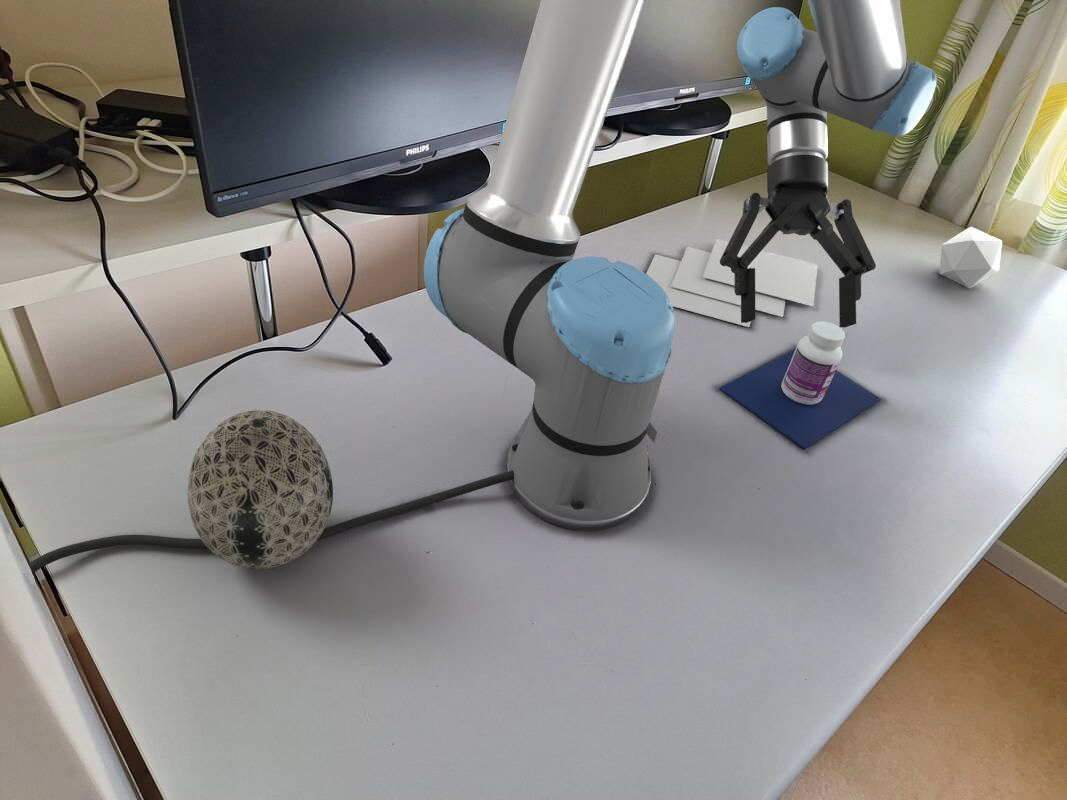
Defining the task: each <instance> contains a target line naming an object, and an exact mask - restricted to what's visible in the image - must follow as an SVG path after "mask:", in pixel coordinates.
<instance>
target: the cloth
mask: <svg viewBox="0 0 1067 800" xmlns="http://www.w3.org/2000/svg"><path fill="white" fill-rule="evenodd" d="M795 350H796V347H795V348H793V349H791V350H789V351H787V352H786V353H783V354H782V355H779V356H777V357H776V358H774V359H772V360H770V361H768V362H766V363H764V364H763V365H761V366H760V365H759V366H758V367H756V368H755V369H752V370H751V371H748V372H746V373H745V374H743V375H741V376H739V377H737V378H735V379H733V380H731V381H729V382H727V383H725V384H723V385H722V386H719V389H718V390H720V391H721V392H722V393H724V394H725V395H726V396H728V397H729V398H731V399H732V400H733V401H735V402H736V403H738V404H739V405H740V406H741V407H743V408H744V409H746V410H747V411H749V412H750V413H752V414H753V415H754V416H756V417H758V418H759V419H760V420H761V421H763V422H765V423H766V424H767V425H768V426H770V427H771V428H773V429H774V430H775V431H776V432H778V433H779V434H781V435H782V436H784V437H785V438H786V439H788V440H790V441H791V442H792V443H794V444H795V445H797V446H798V447H799V448H801V449H802V450H806V449H808V448H809V447H810V446H812V445H814V444H815V443H817V442H818V441H820V440H822V439H824V438H825V437H826V436H827V435H829V434H831V433H832V432H833V431H835V430H837V429H838V428H840V427H841V426H843V425H844V424H846V423H847V422H849V421H851V420H852V419H854V418H855V417H857V416H858V415H860V414H861V413H864V411H866V410H868V409H869V408H871V407H873V406H874V405H875V404H877V403H878V402H881V400H882V398H881V397H879V396H877V395H876V394H875V393H872V391H870V390H868V389H866V388H865V387H863V386H862V385H860V384H859V383H858V382H857V383H856V381H854V380H852V379H850V378H849V377H848V376H846V375H844V374H842V373H841V372H840V371H838V370H836V371H835V374H834V376H833V378H832V380H831V382H830V384H829V386H828V388H827V390H826V392H825V394H824V396H823V398H822V400H821V401H820V402H818V403H816V404H812V405H806V404H801V403H798V402H795V401H793V400H792V399H790V398H789V397H787V396H786V395H785V393H784V392H783V390H782V387H781V385H782V382H783V379H784V377H785V374H786V372H787V369H788V367H789V365H790V362H791V360H792V357H793V355H794V352H795Z"/></svg>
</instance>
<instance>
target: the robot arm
mask: <svg viewBox="0 0 1067 800" xmlns="http://www.w3.org/2000/svg"><path fill="white" fill-rule="evenodd" d="M646 1H647V0H540V3H539V7H538V10H537V13H536V17H535V21H534V24H533V27H532V31H531V34H530V38H529V40H528V44H527V48H526V52H525V55H524V58H523V61H522V65H521V68H520V71H519V75H518V79H517V81H516V85H515V89H514V93H513V96H512V99H511V103H510V106H509V111H508V113H507V117H506V120H505V124H504V128H503V131H502V134H501V138H500V141H499V145H498V148H497V151H496V155H495V158H494V162H493V166H492V169H491V173H490V176H489V178H488V182H487V184H486V185H485V186H484V187H483V188H481V189H479V190H478V191H474V192H473V193H472V194H469V195H468V197H467V198H466V201H465V204H464V205H465V206H464V208H461V209H459V210H456V211H454V212H453V213H451V214H449V215H448V216H447V217H446V218H445V219H444V220H443V227H442V228H437V229H436V230H435V231H434V233H433V235H432V237H431V239H430V241H429V244H428V245H427V248H426V252H425V256H424V262H423V280H424V285H425V291H426V293H427V296H428V298H429V300H430V301H431V303H432V304H433V306H434V307H435V308H436V310H437V311H438V312H439V313H441V315H443V316H444V317H446V318H447V319H448V321H450V323H451V324H452V326H454V327H455V328H456V329H457V330H459V331H461V332H462V333H465V334H468V335H469V336H470V337H472V338H473V339H474V340H476V341H477V342H479V343H480V344H482V346H485V347H486V348H488V349H489V350H490V351H492V352H493V353H495V354H496V355H497V356H498V357H500V358H501V359H503V360H504V361H506V362H508V363H509V364H510V365H512V366H514V367H515V368H516V369H518V370H519V371H520V372H521V373H523V374H524V375H525V376H527V377H528V378H530V379H531V380H532V381H533V382H534V384H535V387H534V394H533V402H532V407H531V410H530V411H529V413H528V414H527V416H526V419H525V420H524V421H523V423H522V424H521V426H520V428H519V430H518V431H517V433H516V435H514V438H513V440H512V442H511V444H510V447H509V450H508V453H507V460H506V466H505V467H506V468H505V470H506V471H505V472H502V473H499V474H494V475H491V476H488V477H485V478H481V479H478V480H475V481H472V482H468V483H465V484H462V485H459V486H456V487H453V488H449V489H446V490H443V491H440V492H437V493H433V494H430V495H427V496H423V497H421V498H417V499H414V500H411V501H407V502H404V503H401V504H397V505H394V506H390V507H387V508H383V509H381V510H378V511H377V510H376V511H373V512H370V513H366V514H363V515H360V516H356V517H353V518H351V519H350V518H349V519H347V520H345V521H342V522H339V523H335V524H334V525H331V526H327V527H325V529H324V530H323V532H322V534H321V535H320V537H319V538H318V539H317V541H316V542H318V541H322V540H324V539H328V538H330V537H333V536H337V535H339V534H342V533H344V532H347V531H350V530H353V529H356V528H359V527H362V526H365V525H370V524H373V523H377V522H378V521H383V520H386V519H389V518H392V517H396V516H398V515H402V514H405V513H408V512H409V513H410V512H412V511H415V510H418V509H422V508H425V507H428V506H431V505H434V504H437V503H440V502H444V501H447V500H450V499H453V498H457V497H459V496H462V495H465V494H469V493H472V492H476V491H479V490H482V489H485V488H488V487H492V486H495V485H498V484H501V483H504V482H507V483H508V485H509V488H510V490H511V492H512V494H513V495H514V497H515V498H516V500H518V501H519V503H520V504H521V505H522V506H523V507H524V508H525V509H527V510H528V511H529V512H530V513H532V514H533V515H535V516H536V517H538V518H540V519H542V520H543V521H546V522H547V523H550V524H553V525H556V526H559V527H562V528H567V529H571V530H579V531H597V530H604V529H609V528H610V529H611V528H613V527H616V526H618V525H622V524H623V523H625V522H627V521H628V520H630V519H631V518H633V517H634V516H635V515H636V514H638V513H639V511H640V510H641V508H642V507H643V506H644V504H645V502H646V500H647V498H648V494H649V490H650V487H651V483H652V482H651V481H652V465H651V460H650V456H649V454H648V446H649V445H648V437H649V439H650V441H652V444H655V442H656V438H657V435H658V431H657V430H656V428H654V426H653V425H652V424H651V418H652V415H653V411H654V408H655V405H656V402H657V398H658V395H659V391H660V388H661V384H662V380H663V377H664V373H665V370H666V368H667V366H668V364H669V362H670V359H671V356H672V349H673V348H672V347H673V338H674V334H675V327H676V317H675V314H674V311H675V310H674V307H673V306H672V303H671V301H670V299H669V297H668V296H667V294H666V293H665V291H664V290H663V289H662V287H661V286H660V285H659V284H658V283H657V282H656V281H655V280H653V279H652V278H651V277H650V276H648V275H647V274H646V272H644V271H643V270H641V269H639V268H638V267H635V266H634V265H631V264H628V263H626V262H624V261H620V260H616V261H615V262H612V261H610V260H609V259H608V258H607V257H604V256H603V257H602V256H583V257H578V258H574V257H575V253H576V250H577V247H578V245H579V242H580V239H581V235H582V234H581V232H580V229H579V227H578V225H577V223H576V221H575V219H574V215H573V212H574V209H575V207H576V204H577V200H578V198H579V195H580V193H581V188H582V187H583V183H584V180H585V178H586V174H587V172H588V170H589V165H590V163H591V160H592V157H593V154H594V151H595V148H596V146H597V142H598V140H599V137H600V134H601V132H602V128H603V127H604V126H603V125H604V123H605V119H606V116H607V114H608V112H609V109H610V105H611V102H612V99H613V96H614V94H615V91H616V88H617V86H618V82H619V79H620V76H621V73H622V70H623V69H624V68H623V67H624V65H625V61H626V59H627V56H628V53H629V50H630V47H631V45H632V42H633V39H634V36H635V33H636V31H637V27H638V24H639V21H640V18H641V17H642V13H643V10H644V7H645V4H646ZM806 1H807V4H808V7H809V10H810V13H811V17H812V20H813V23H814V27H815V29H816V31H814V30H811V29H808V28H806V27H804V25H803V24H802V21H801V19H799V18H798V17H797V16H796V15H795V13H794V12H792V10H789V9H788V8H785V7H781V6H774V7H769V8H766V9H763V10H760V11H759V12H756V13H755V14H754V15H753V16H751V18H749V20H748V21H747V22H746V23H745V24H744V25H743V27H742V29H741V30H740V32H739V34H738V37H737V43H736V53H737V57H738V59H739V61H740V64H741V65H742V66H741V67H742V69H743V70H742V71H743V72H744V73H745V75H747V77H748V78H749V79H750V81H751V82H752V84H753V86H755V88H756V89H757V91H758V92H759V94H760V96H761V97H762V98H763V100H764V101H765V105H766V149H767V150H766V161H767V165H768V167H767V171H766V174H767V175H766V188H767V189H766V190H767V191H766V193H767V197H762V196H761V195H760V193H758V192H753V193H752V194H751V195H750V196H748V197H746V199H745V200H744V201H743V207H742V215H741V217H740V219H739V221H738V223H737V225H736V227H735V229H734V231H733V233H732V235H731V237H730V239H729V241H728V242H729V243H728V245H727V247H726V249H725V251H724V253H723V255H722V257H721V259H720V264H721V265H722V266H727V267H730V268H731V271H732V273H734V290H735V294H736V295H737V296H741V323H747V322H750V321H751V322H752V321H754V320H756V310H755V268H749V269H748V266H749V265H750V264H751V262H752V261H753V260H754V259H755V258H756V257H757V255H758V254H759V253H760V252H761V251H762V250H763V251H764V249H765V248H766V247H767V245H768V244H769V243H770V241H772V239H773V238H774V237H775V236H776V235H777V233H778V232H781V233H782V235H792V234H794V235H798V236H807V235H809V236H810V237H811V238H812V239H813V240H814V241H816V242H818V244H819V246H821V248H822V249H823V250H824V251H825V253H826V254H827V255H828V257H829V258H830V259H831V260H832V261H833V262H834V264H835V265H836V266H837V268H838V269H839V271H840V272H841V273H842V274H843V276H842V277H840V278H838V306H839V307H838V309H839V310H838V313H839V314H838V317H839V318H838V319H839V327H840V328H848V327H851V326H854V325H857V301H859V300H861V297H862V276H863V275H864V274H866V273H869V272H871V271H874V270H875V269H876V267H877V264H876V261H875V260H874V258H873V256H872V253H871V252H870V249H869V247H868V245H867V243H866V240H865V239H864V237H863V235H862V233H861V230H860V228H859V227H858V224H857V222H856V220H855V218H854V216H853V207H852V202H851V200H850V199H847V198H846V199H843V200H842V201H840V202H830V201H829V199H828V188H829V162H828V161H827V159H828V156H829V148H828V147H829V146H828V144H829V141H828V114H830V115H833V116H836V117H839V118H841V119H844V120H846V121H849V122H852V123H854V124H857V125H859V126H862V127H864V128H868V129H869V130H871V131H872V132H874V131H878V132H880V133H883V134H887V135H890V136H894V137H903V136H905V135H907V134H909V133H910V132H911V131H912V130H913V129H914V128H915V127H916V126H917V124H918V123H919V122H920V120H921V119H922V117H923V116H924V115H925V113H926V111H927V109H928V107H929V106H930V104H931V101H932V99H933V96H934V94H935V90H936V87H937V80H938V79H937V74H936V72H935V71H934V70H933V69H932V68H930V67H928V66H925V65H923V64H921V63H920V62H919V61H917V60H916V61H910V60H909V58H908V53H907V46H906V38H905V30H904V24H903V16H902V7H901V0H806ZM763 210H765V212H766V214H767V215H768V216H769V218H770V219H771V220H770V221H769V222H768V223H767V224H766V226H765V227H764V228H763V230H762V231H761V232H760V234H759V235H757V237H756V238H755V239H754V240H753V242H752V243H751V244H750V245H749V246H748V247H749V248H748V249H747V250H746V251H745V252H744V253H743V255H742V256H741V257H738V256H737V255H738V253H739V251H740V249H741V247H742V245H743V246H744V243H745V241H746V239H747V237H748V235H749V233H750V231H751V229H752V227H753V225H754V224H755V221H756V219H757V217H758V215H759V214H761V213H762V212H763ZM828 214H829V215H830V219H831V220H833V221H834V225H835V227H836V230H837V232H838V234H839V235H838V234H837V232H835V230H834V225H833V224H832V223H831V222H830V220H829V219H828V217H827V216H828ZM751 322H750V323H751ZM133 545H134V546H152V547H161V548H172V549H185V550H210V549H209V548H208V547H207V546H206V545H205V544H204V543H203V541H202V540H201V538H185V537H183V538H182V537H171V536H162V535H151V534H120V535H112V536H106V537H101V538H100V537H99V538H95V539H90V540H85V541H81V542H76V543H73V544H69V545H65V546H62V547H59V548H57V549H53V550H51V551H48V552H46V553H44V554H42V555H40V556H38V557H36V558H35V559H33V560H31V561H30V562H28V563H27V564H28V565H29V566H30V568H31V570H32V573H33V574H35V573H36V572H37V571H39V570H41V569H42V568H44V567H46V566H48V565H50V564H51V563H54V562H56V561H59V560H61V559H64V558H68V557H71V556H74V555H78V554H82V553H86V552H91V551H96V550H100V549H101V550H102V549H105V548H112V547H118V546H133Z"/></svg>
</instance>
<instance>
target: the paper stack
mask: <svg viewBox="0 0 1067 800" xmlns="http://www.w3.org/2000/svg"><path fill="white" fill-rule="evenodd" d="M728 243H729V241H727V240H723V239H719V238H715V241H714V244H713V246H712V249H711V252H710V251H706V250H702V249H698V248H694V247H690V246H687V247H686V249H685V251H684V253H683V256H682V258H681V260H679V259H676V258H671V257H667V256H663V255H660V254H657V253H655V254H654V256H653V258H652V260H651V263H650V264H649V267H648V268H647V271H646V272H645V274H647V275H648V276H650V277H651V278H652V279H653V280H655V281H656V282H657V283H658V284H659V285H660V286H661V287H662V289H663V290H664V291H665V293H666V294H667V296H668V297H669V299H670V301H671V303H672V306H673V308H677V309H680V310H681V309H682V310H685V311H689V312H692V313H695V314H699V315H703V316H706V317H710V318H714V319H717V320H721V321H724V322H728V323H731V324H736V325H738V326H741V327H742V326H743V327H746V328H750V326H751V322H752V321H750V322H747V323H741V296H737V295H736V294H735V290H734V273H732V271H731V268H730V267H727V266H722V265H721V264H720V259H721V257H722V255H723V253H724V251H725V249H726V247H727V245H728ZM748 248H749V246H747V245H744V244H743V245H742V247H741V249H740V251H739V253H738V255H737V256H738V257H741V256H742V255H743V253H744V252H745V251H746V250H747V249H748ZM818 266H819V265H818V264H816V263H813V262H809V261H806V260H802V259H797V258H794V257H790V256H786V255H781V254H779V253H774V252H770V251H767V250H764V249H763V250H762V251H761V252H760V253H759V254H758V255H757V257H756V258H755V259H754V260H753V261H752V262H751V264H750V265H749V266H748V269H749V268H755V311H758V312H763V313H766V314H769V315H774V316H777V317H780V318H783V317H784V313H785V307H786V300H787V301H791V302H794V303H798V304H802V305H804V306H805V305H806V306H809V307H814V306H815V304H814V303H815V295H816V285H817V276H818V268H819V267H818Z"/></svg>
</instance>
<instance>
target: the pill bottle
mask: <svg viewBox="0 0 1067 800" xmlns="http://www.w3.org/2000/svg"><path fill="white" fill-rule="evenodd" d="M845 338H846V333H845V331H844V329H842V327H840V326H838V325H836V324H834V323H832V322H829V321H815V322H814V323H812V324H811V326H810V328H809V330H808V334H807V335H804V336H803V337H801V339H799V341H798V343H797V345H796V347H795V348H796V350H795V352H794V355H793V357H792V360H791V362H790V365H789V367H788V369H787V372H786V374H785V377H784V379H783V382H782V385H781V387H782V390H783V392H784V393H785V395H786V396H787V397H789V398H790V399H792V400H793V401H795V402H798V403H801V404H806V405H812V404H816V403H818V402H820V401H821V400H822V398H823V396H824V394H825V392H826V390H827V388H828V386H829V384H830V382H831V380H832V378H833V376H834V374H835V371H837V369H838V367H839V365H840V363H841V360H842V358H843V349H842V347H841V346H842V344H843V342H844V341H845Z"/></svg>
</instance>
